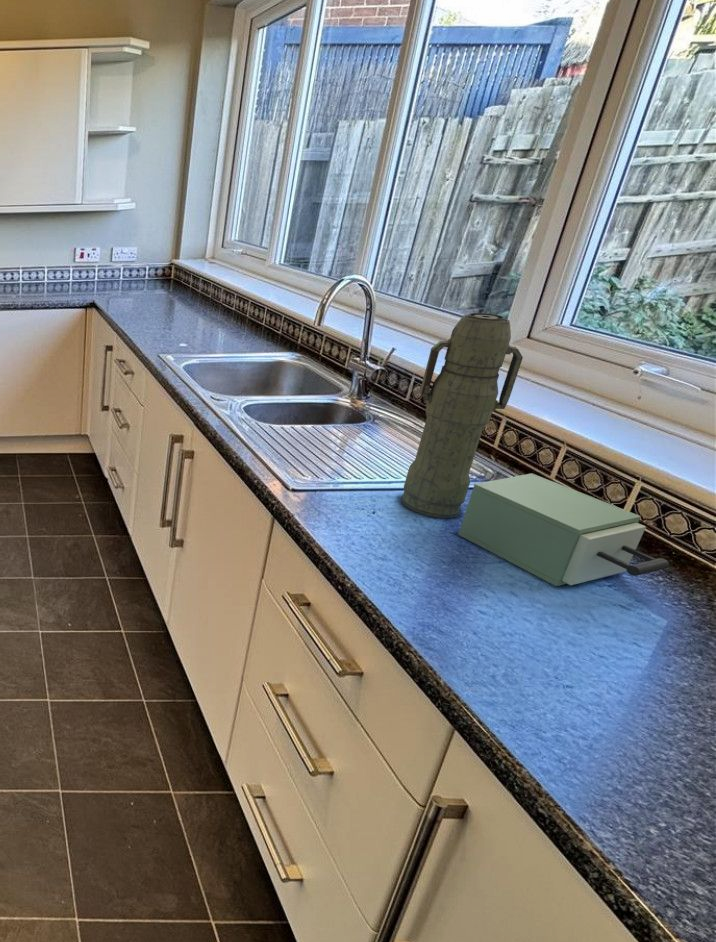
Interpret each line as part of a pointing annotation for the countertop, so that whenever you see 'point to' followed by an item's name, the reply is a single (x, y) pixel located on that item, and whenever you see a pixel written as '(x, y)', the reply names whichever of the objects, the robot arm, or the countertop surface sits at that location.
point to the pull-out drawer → (609, 555)
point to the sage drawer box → (536, 522)
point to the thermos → (459, 411)
